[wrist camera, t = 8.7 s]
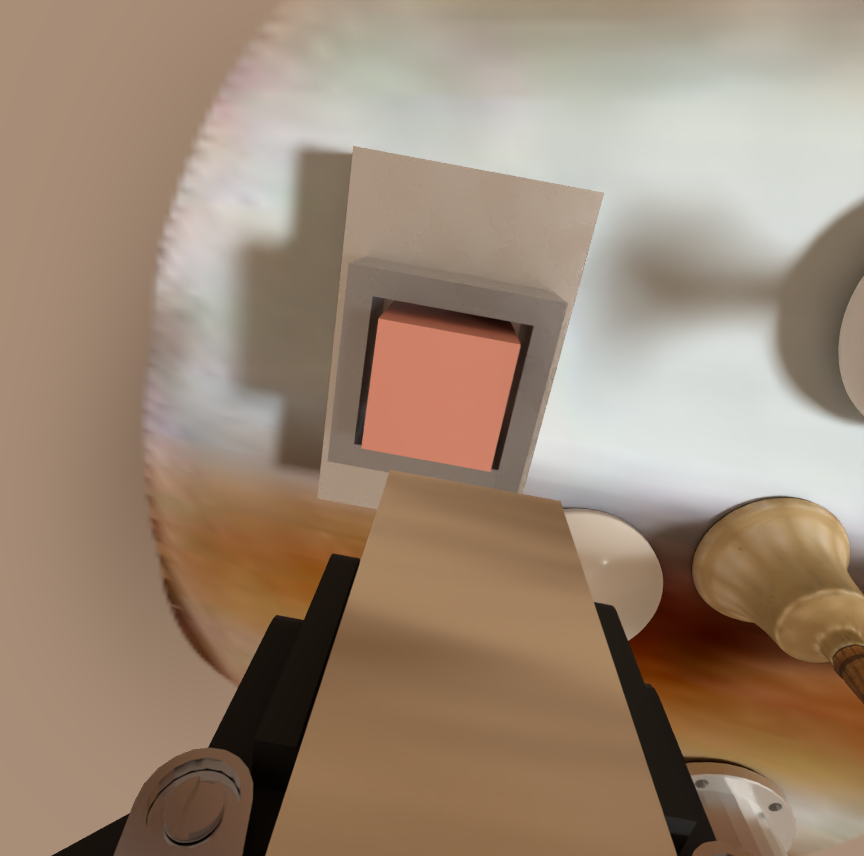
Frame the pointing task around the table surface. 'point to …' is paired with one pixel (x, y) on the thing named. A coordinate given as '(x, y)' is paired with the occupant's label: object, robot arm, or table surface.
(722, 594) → the hand bell
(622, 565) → the coaster
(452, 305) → the base
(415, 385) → the button
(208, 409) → the table surface
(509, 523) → the pale wood brick
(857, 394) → the flower in vase
